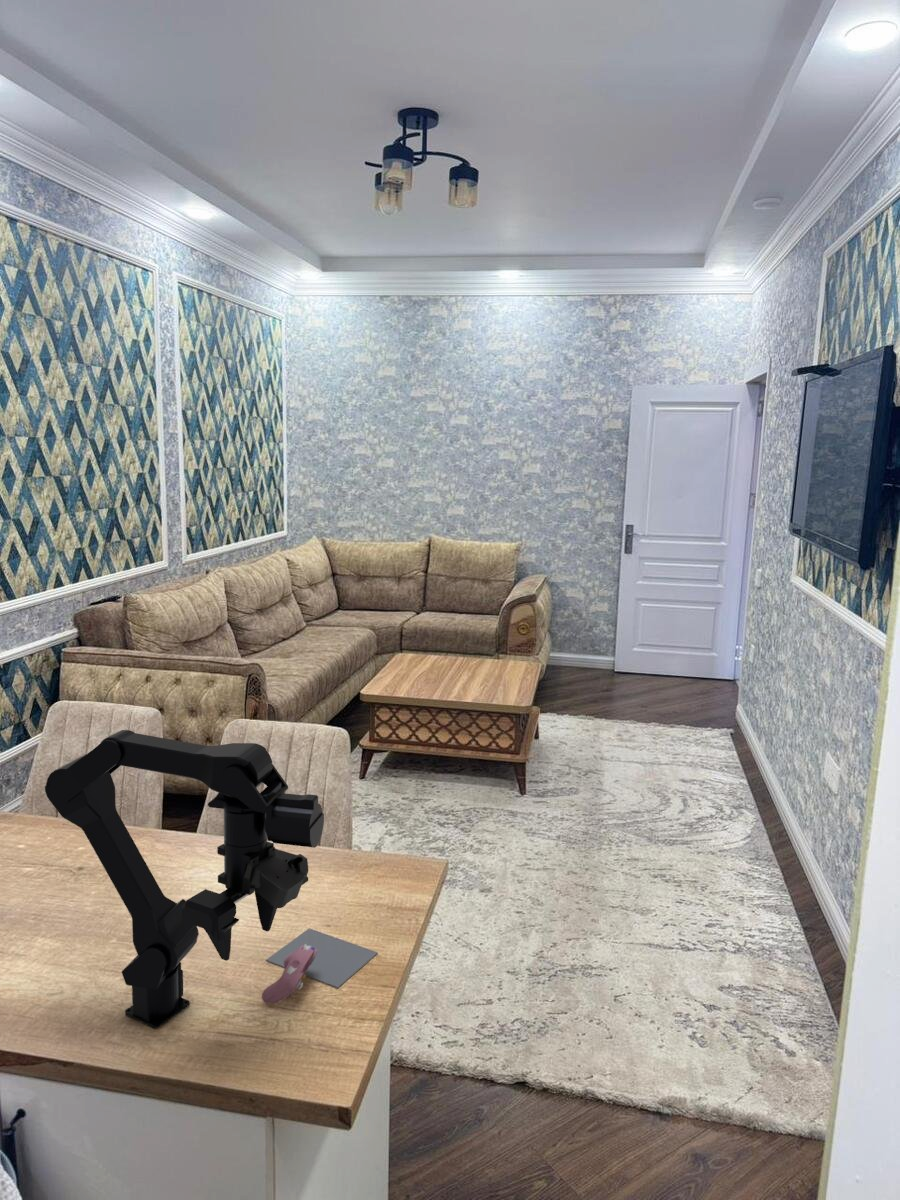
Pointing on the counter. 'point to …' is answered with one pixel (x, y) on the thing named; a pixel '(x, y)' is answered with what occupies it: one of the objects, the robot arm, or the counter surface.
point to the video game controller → (291, 974)
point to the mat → (327, 957)
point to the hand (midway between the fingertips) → (246, 944)
